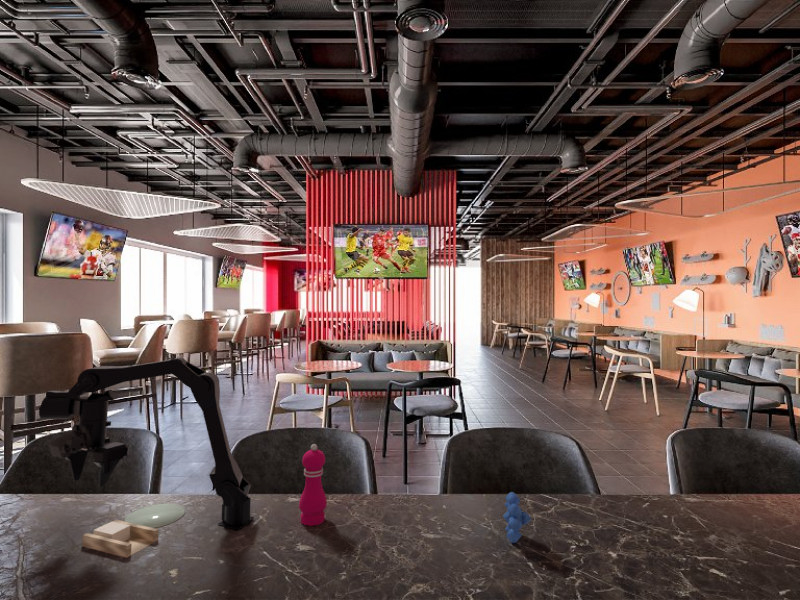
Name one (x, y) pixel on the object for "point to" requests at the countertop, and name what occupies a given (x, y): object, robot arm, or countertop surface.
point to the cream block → (114, 531)
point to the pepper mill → (313, 488)
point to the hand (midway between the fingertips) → (88, 483)
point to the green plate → (156, 515)
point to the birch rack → (135, 543)
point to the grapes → (514, 517)
